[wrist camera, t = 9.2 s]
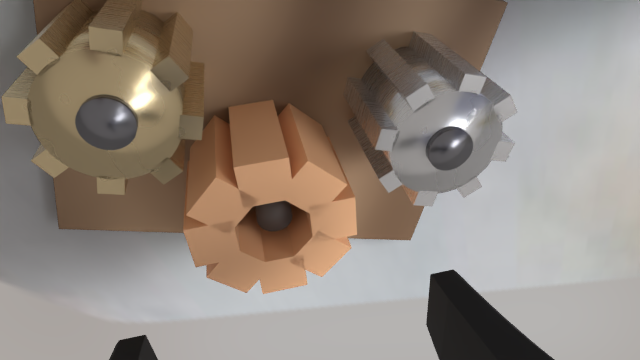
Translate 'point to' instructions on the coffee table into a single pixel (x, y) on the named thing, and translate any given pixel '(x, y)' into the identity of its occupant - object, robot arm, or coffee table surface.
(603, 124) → the coffee table surface
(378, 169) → the gear
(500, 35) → the coffee table surface
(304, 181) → the idler gear
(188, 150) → the gear board
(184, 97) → the gear
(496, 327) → the robot arm
